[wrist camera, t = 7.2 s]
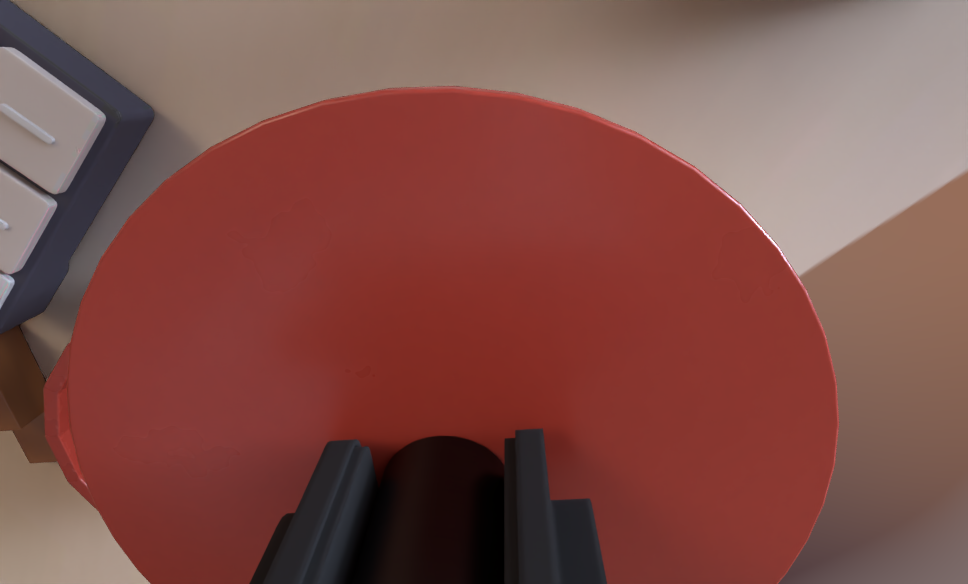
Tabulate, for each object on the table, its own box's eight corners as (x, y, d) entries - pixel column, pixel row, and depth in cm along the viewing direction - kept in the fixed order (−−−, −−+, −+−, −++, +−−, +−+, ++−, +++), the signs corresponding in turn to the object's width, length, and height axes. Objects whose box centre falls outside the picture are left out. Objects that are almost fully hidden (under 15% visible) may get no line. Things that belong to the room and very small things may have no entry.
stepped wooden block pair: (-31, 322, 33) (-76, 345, 31) (28, 317, 33) (-12, 339, 30) (38, 455, 37) (4, 485, 35) (92, 452, 37) (61, 481, 34)
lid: (-21, 128, 10) (-629, 217, 4) (867, 37, 9) (1414, 13, 3) (220, 675, 16) (78, 989, 10) (767, 659, 15) (914, 999, 9)
